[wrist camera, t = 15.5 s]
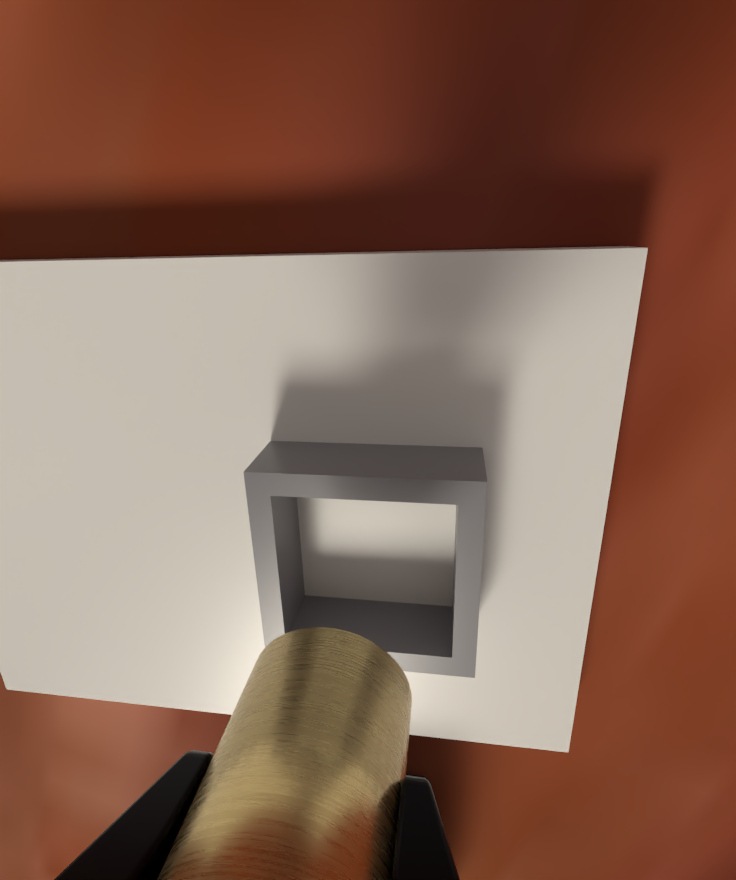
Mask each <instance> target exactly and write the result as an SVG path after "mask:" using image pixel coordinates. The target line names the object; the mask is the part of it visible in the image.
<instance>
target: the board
mask: <svg viewBox="0 0 736 880" xmlns="http://www.w3.org/2000/svg"><path fill="white" fill-rule="evenodd" d="M647 251H648V248H645V247H632V246H606V247H561V248H516V249H472V250H427V251H382V252H337V253H293V254H248V255H203V256H158V257H114V258H69V259H24V260H0V672H1V675H2V678H3V681H4V683H5V686H6V689H8V690H17V691H26V692H35V693H44V694H52V695H61V696H70V697H79V698H88V699H97V700H106V701H115V702H124V703H133V704H141V705H150V706H159V707H168V708H177V709H186V710H195V711H204V712H213V713H221V714H230V715H232V714H233V711H234V709H235V707H236V705H237V703H238V700H239V698H240V696H241V694H242V692H243V689H244V687H245V685H246V683H247V681H248V678H249V676H250V674H251V672H252V670H253V667H254V665H255V663H256V661H257V659H258V657H259V655H260V653H261V652H262V651H263V649H264V648H265V647H266V646H267V645H268V644H269V643H270V642H272V641H273V640H274V639H276V638H277V637H279V636H281V635H283V634H285V633H288V632H291V631H294V630H298V629H303V628H311V627H327V628H335V629H340V630H344V631H348V632H351V633H354V634H357V635H360V636H362V637H364V638H366V639H368V640H370V641H372V642H373V643H375V644H376V645H378V646H380V647H381V648H382V649H383V650H385V651H386V652H387V653H388V654H389V655H390V656H391V657H392V658H393V659H394V660H395V661H396V662H397V663H398V664H399V666H400V667H401V669H402V670H403V672H404V673H405V675H406V677H407V680H408V682H409V685H410V689H411V694H412V707H411V719H410V731H409V735H417V736H426V737H435V738H444V739H453V740H462V741H471V742H479V743H488V744H497V745H506V746H515V747H524V748H533V749H542V750H551V751H560V752H568V751H569V745H570V739H571V732H572V726H573V720H574V713H575V707H576V701H577V694H578V688H579V682H580V675H581V669H582V663H583V656H584V650H585V644H586V637H587V631H588V625H589V618H590V612H591V606H592V599H593V593H594V587H595V580H596V574H597V568H598V561H599V555H600V549H601V542H602V536H603V530H604V523H605V517H606V511H607V504H608V498H609V492H610V485H611V479H612V473H613V466H614V460H615V454H616V447H617V441H618V435H619V428H620V422H621V416H622V409H623V403H624V397H625V390H626V384H627V378H628V371H629V365H630V359H631V352H632V346H633V340H634V333H635V327H636V321H637V314H638V308H639V302H640V295H641V289H642V283H643V276H644V270H645V264H646V257H647Z"/></svg>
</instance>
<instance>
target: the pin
mask: <svg viewBox="0 0 736 880" xmlns="http://www.w3.org/2000/svg"><path fill="white" fill-rule="evenodd" d="M411 707H412V694H411V689H410V685H409V682H408V680H407V677H406V675H405V673H404V672H403V670H402V669H401V667H400V666H399V664H398V663H397V662H396V661H395V660H394V659H393V658H392V657H391V656H390V655H389V654H388V653H387V652H386V651H385V650H383V649H382V648H381V647H380V646H378V645H376V644H375V643H373V642H372V641H370V640H368V639H366V638H364V637H362V636H360V635H357V634H354V633H351V632H348V631H344V630H340V629H335V628H327V627H311V628H303V629H298V630H294V631H291V632H288V633H285V634H283V635H281V636H279V637H277V638H276V639H274V640H273V641H272V642H270V643H269V644H268V645H267V646H266V647H265V648H264V649H263V651H262V652H261V653H260V655H259V657H258V659H257V661H256V663H255V665H254V667H253V670H252V672H251V674H250V676H249V678H248V681H247V683H246V685H245V687H244V689H243V692H242V694H241V696H240V698H239V700H238V703H237V705H236V707H235V709H234V711H233V714H232V716H231V718H230V720H229V722H228V725H227V727H226V729H225V731H224V733H223V736H222V738H221V740H220V742H219V744H218V747H217V749H216V751H215V753H214V755H213V758H212V760H211V762H210V764H209V766H208V769H207V771H206V773H205V775H204V777H203V780H202V782H201V784H200V786H199V788H198V791H197V793H196V795H195V797H194V799H193V802H192V804H191V806H190V808H189V810H188V813H187V815H186V817H185V819H184V821H183V824H182V826H181V828H180V830H179V832H178V835H177V837H176V839H175V841H174V843H173V846H172V848H171V850H170V852H169V854H168V857H167V859H166V861H165V863H164V865H163V868H162V870H161V872H160V874H159V876H158V879H157V880H393V860H394V849H395V840H396V830H397V820H398V811H399V801H400V792H401V783H402V780H403V778H404V777H406V767H407V755H408V743H409V731H410V719H411Z"/></svg>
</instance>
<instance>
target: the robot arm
mask: <svg viewBox="0 0 736 880" xmlns="http://www.w3.org/2000/svg"><path fill="white" fill-rule="evenodd" d="M212 758H213V754H212V753H211V752H203V751H195V750H192V751H189V752H187V753H185V754H184V755H183V756H182V757H181V758H180V759H179V760H178V761H177V762H176V763H175V764H174V765H173V766H172V767H170V768H169V769H168V770H167V771H166V772H165V773H164V774H163V775H162V776H161V777H160V778H159V779H158V780H157V781H156V782H155V783H154V784H153V785H152V786H151V787H150V788H149V789H148V790H147V791H146V792H145V793H144V794H142V795H141V796H140V797H139V798H138V799H137V800H136V801H135V802H134V803H133V804H132V805H131V806H130V807H129V808H128V809H127V810H126V811H125V812H124V813H123V814H122V815H121V816H120V817H119V818H118V819H117V820H116V821H114V822H113V823H112V824H111V825H110V826H109V827H108V828H107V829H106V830H105V831H104V832H103V833H102V834H101V835H100V836H99V837H98V838H97V839H96V840H95V841H94V842H93V843H92V844H91V845H90V846H89V847H88V848H87V849H85V850H84V851H83V852H82V853H81V854H80V855H79V856H78V857H77V858H76V859H75V860H74V861H73V862H72V863H71V864H70V865H69V866H68V867H67V868H66V869H65V870H64V871H63V872H62V873H61V874H60V875H59V876H57V877H56V878H55V879H54V880H157V879H158V876H159V874H160V872H161V870H162V868H163V865H164V863H165V861H166V859H167V857H168V854H169V852H170V850H171V848H172V846H173V843H174V841H175V839H176V837H177V835H178V832H179V830H180V828H181V826H182V824H183V821H184V819H185V817H186V815H187V813H188V810H189V808H190V806H191V804H192V802H193V799H194V797H195V795H196V793H197V791H198V788H199V786H200V784H201V782H202V780H203V777H204V775H205V773H206V771H207V769H208V766H209V764H210V762H211V760H212ZM393 880H460V879H459V876H458V872H457V869H456V866H455V862H454V859H453V856H452V853H451V849H450V846H449V843H448V840H447V836H446V833H445V830H444V826H443V823H442V820H441V817H440V813H439V810H438V807H437V803H436V800H435V797H434V794H433V790H432V787H431V784H430V782H429V781H428V780H427V779H424V778H416V777H408V776H407V777H404V778H403V780H402V783H401V792H400V801H399V811H398V820H397V830H396V840H395V849H394V860H393Z"/></svg>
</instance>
